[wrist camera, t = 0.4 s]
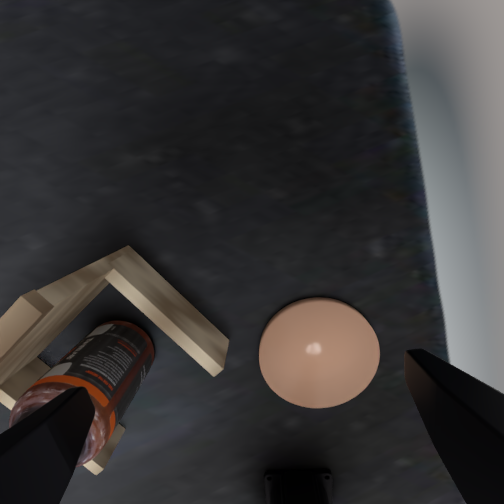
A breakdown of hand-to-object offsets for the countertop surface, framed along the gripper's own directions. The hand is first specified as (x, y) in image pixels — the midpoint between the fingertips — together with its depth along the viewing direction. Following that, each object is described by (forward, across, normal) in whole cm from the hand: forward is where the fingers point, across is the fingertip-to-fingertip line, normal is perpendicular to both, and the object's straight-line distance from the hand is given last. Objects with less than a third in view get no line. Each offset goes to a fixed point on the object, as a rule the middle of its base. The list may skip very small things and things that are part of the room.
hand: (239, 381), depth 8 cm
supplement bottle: (+15, +13, +8) cm, 22 cm away
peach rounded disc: (+15, -4, +11) cm, 19 cm away
